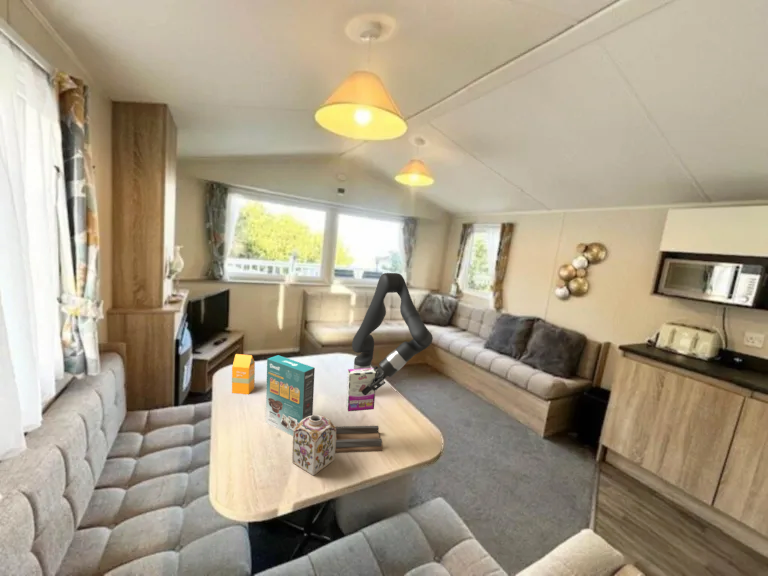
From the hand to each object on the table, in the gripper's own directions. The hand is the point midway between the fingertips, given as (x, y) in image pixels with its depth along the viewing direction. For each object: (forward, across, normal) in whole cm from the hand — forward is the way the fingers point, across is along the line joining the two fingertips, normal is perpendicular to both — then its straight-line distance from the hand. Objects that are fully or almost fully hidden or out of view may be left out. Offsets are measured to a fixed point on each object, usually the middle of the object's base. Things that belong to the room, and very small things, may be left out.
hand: (362, 390), depth 139 cm
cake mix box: (+38, -11, -5) cm, 40 cm away
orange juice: (+57, -47, -24) cm, 78 cm away
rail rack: (+17, 0, +15) cm, 23 cm away
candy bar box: (+6, 0, +5) cm, 8 cm away
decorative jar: (+29, +12, +3) cm, 32 cm away
